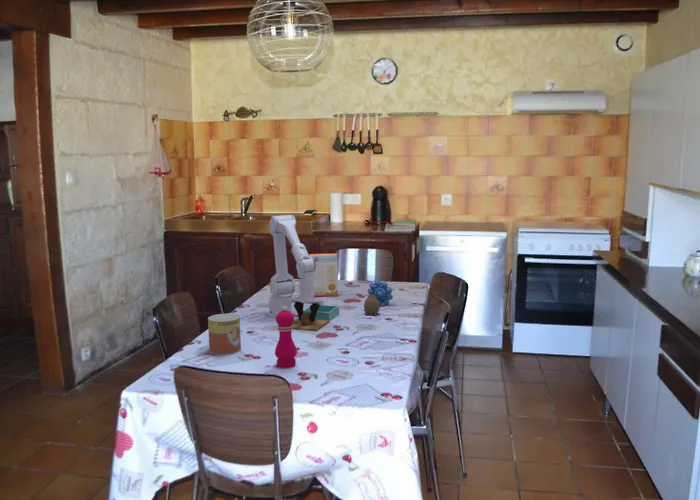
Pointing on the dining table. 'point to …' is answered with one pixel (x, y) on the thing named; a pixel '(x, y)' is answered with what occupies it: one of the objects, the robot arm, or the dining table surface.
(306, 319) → the lid
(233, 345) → the canned food
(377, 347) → the dining table surface
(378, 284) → the grapes
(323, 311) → the dish
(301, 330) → the mat
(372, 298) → the brown egg-shaped piece
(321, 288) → the cracker box
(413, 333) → the dining table surface
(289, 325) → the pepper mill
